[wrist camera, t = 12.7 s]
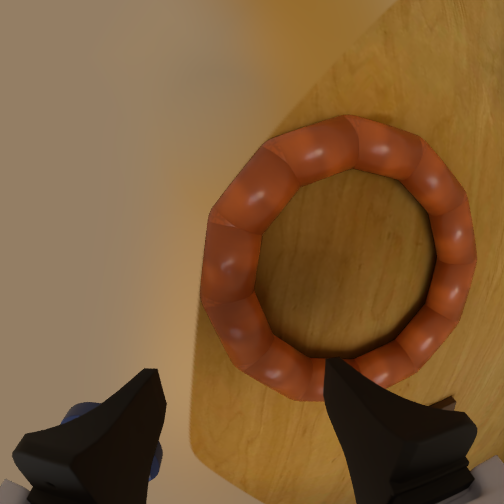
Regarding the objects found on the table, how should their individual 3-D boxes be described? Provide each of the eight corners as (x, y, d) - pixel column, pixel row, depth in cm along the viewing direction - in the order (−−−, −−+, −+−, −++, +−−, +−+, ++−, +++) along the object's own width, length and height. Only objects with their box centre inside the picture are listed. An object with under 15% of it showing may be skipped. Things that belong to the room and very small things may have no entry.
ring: (267, 414, 21) (270, 441, 18) (158, 188, 17) (143, 189, 14) (467, 322, 20) (487, 337, 18) (418, 97, 16) (443, 87, 14)
